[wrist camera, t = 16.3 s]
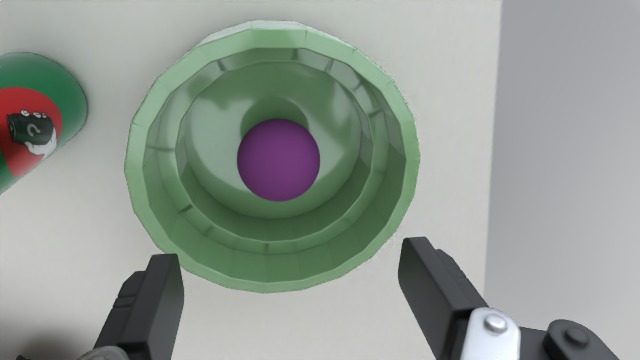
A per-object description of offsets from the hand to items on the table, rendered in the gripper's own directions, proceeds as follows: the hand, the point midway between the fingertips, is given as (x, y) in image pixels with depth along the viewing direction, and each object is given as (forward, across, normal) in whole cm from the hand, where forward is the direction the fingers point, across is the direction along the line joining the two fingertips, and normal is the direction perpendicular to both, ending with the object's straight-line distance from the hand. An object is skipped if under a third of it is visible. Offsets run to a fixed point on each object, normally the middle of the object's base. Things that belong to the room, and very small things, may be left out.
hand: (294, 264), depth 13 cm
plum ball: (+9, 0, 0) cm, 9 cm away
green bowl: (+12, 0, 0) cm, 12 cm away
